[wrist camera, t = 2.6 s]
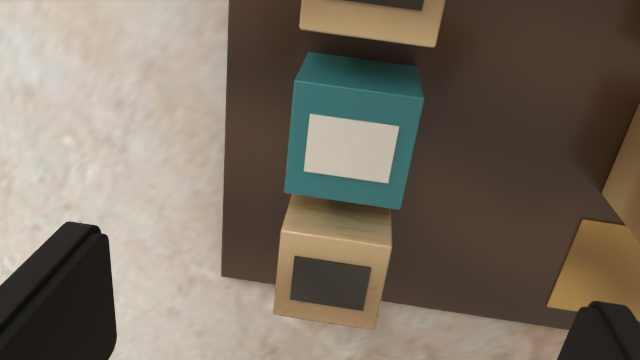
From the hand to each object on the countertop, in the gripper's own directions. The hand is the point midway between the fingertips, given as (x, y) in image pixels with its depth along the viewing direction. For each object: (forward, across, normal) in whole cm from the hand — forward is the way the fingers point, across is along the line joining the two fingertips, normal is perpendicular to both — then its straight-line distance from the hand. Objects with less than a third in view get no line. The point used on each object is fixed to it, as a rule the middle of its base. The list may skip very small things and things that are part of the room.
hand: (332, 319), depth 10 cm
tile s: (+11, 0, -1) cm, 11 cm away
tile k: (+11, 0, +5) cm, 12 cm away
